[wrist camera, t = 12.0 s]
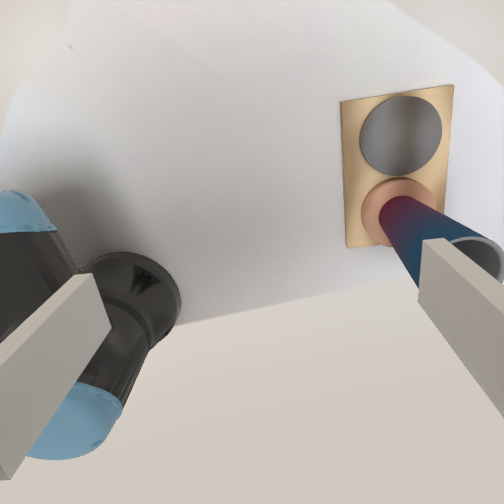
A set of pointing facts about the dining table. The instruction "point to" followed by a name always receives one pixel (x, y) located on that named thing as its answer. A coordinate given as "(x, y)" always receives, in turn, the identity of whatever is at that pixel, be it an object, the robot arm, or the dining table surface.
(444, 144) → the stand board
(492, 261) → the cup
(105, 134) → the dining table surface
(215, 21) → the dining table surface
